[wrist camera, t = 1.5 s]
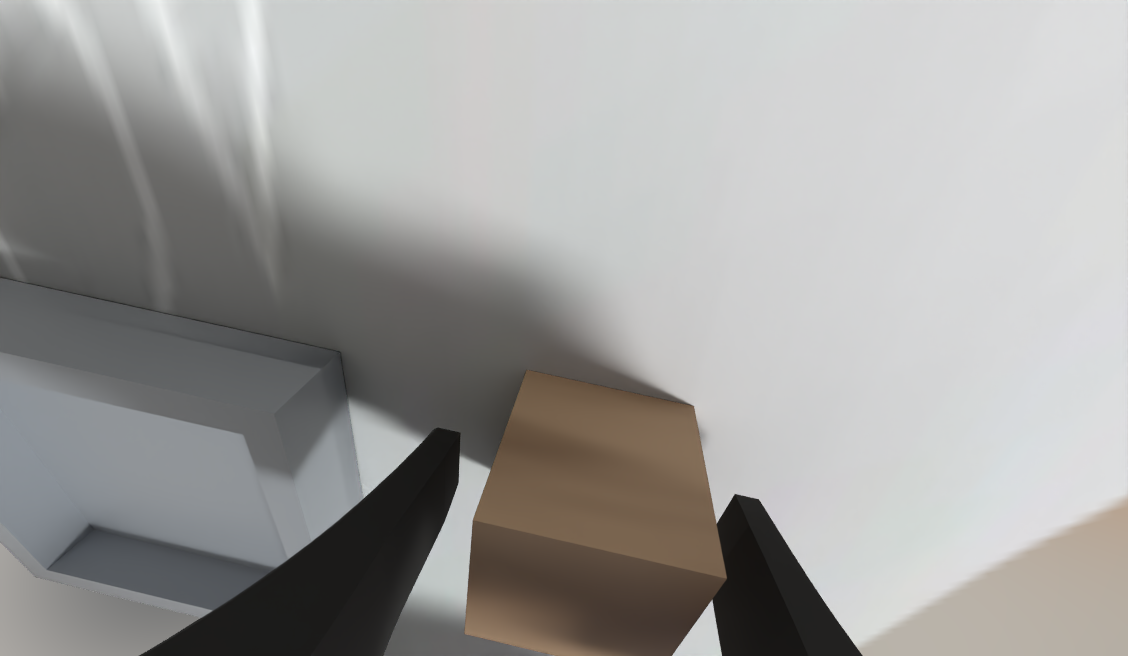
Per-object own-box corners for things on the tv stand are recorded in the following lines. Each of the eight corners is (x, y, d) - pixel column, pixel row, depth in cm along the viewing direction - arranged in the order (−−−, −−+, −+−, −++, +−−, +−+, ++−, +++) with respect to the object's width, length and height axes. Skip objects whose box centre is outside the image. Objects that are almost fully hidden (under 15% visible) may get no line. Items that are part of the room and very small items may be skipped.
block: (648, 507, 13) (654, 679, 9) (511, 476, 13) (464, 633, 10) (693, 404, 11) (726, 578, 7) (527, 367, 11) (472, 520, 7)
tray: (377, 586, 18) (343, 652, 16) (102, 521, 19) (35, 577, 17) (339, 352, 12) (274, 413, 9) (-92, 257, 12) (-247, 296, 10)
